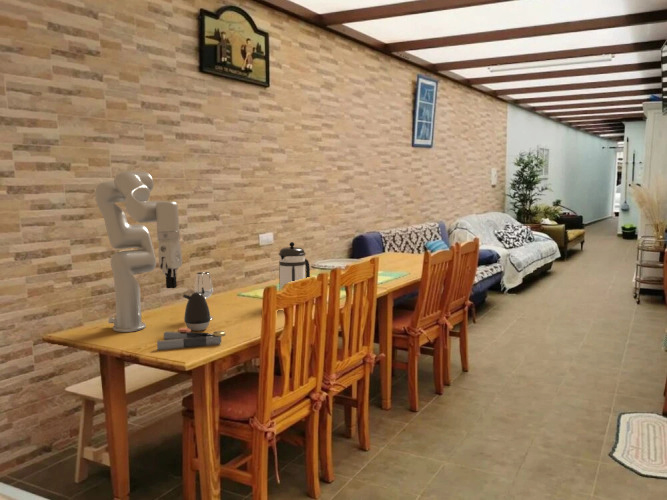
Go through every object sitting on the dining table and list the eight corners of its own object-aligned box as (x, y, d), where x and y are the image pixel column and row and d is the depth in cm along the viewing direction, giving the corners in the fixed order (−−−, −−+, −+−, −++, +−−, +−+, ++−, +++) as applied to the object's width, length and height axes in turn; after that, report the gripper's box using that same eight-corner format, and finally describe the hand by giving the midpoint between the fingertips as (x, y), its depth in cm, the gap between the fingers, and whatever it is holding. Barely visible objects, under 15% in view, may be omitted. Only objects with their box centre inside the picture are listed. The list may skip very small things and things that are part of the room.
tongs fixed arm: (161, 342, 212) (160, 331, 212) (166, 338, 217) (166, 328, 216) (223, 345, 208) (222, 334, 208) (227, 341, 212) (227, 331, 212)
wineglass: (209, 321, 243) (207, 274, 240) (192, 320, 244) (190, 274, 242) (216, 316, 250) (215, 271, 248) (200, 316, 252) (198, 271, 249)
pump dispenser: (186, 326, 235) (185, 290, 233) (212, 325, 236) (211, 289, 234) (182, 333, 225) (180, 295, 223) (209, 332, 225) (207, 294, 224)
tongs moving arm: (157, 350, 202) (157, 341, 202) (157, 349, 204) (157, 340, 203) (220, 344, 209) (220, 336, 209) (219, 343, 211) (219, 334, 210)
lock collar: (178, 340, 214) (178, 329, 214) (183, 337, 219) (183, 326, 218) (186, 340, 214) (185, 329, 213) (191, 337, 218) (190, 326, 217)
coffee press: (311, 307, 268) (310, 243, 264) (276, 307, 267) (275, 244, 263) (309, 299, 285) (309, 239, 281) (277, 299, 284) (276, 239, 280)
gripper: (169, 238, 194) (172, 291, 196) (187, 234, 208) (189, 284, 210) (148, 238, 195) (152, 291, 197) (167, 234, 209) (170, 284, 211)
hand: (171, 287), depth 203 cm, fingers closed
